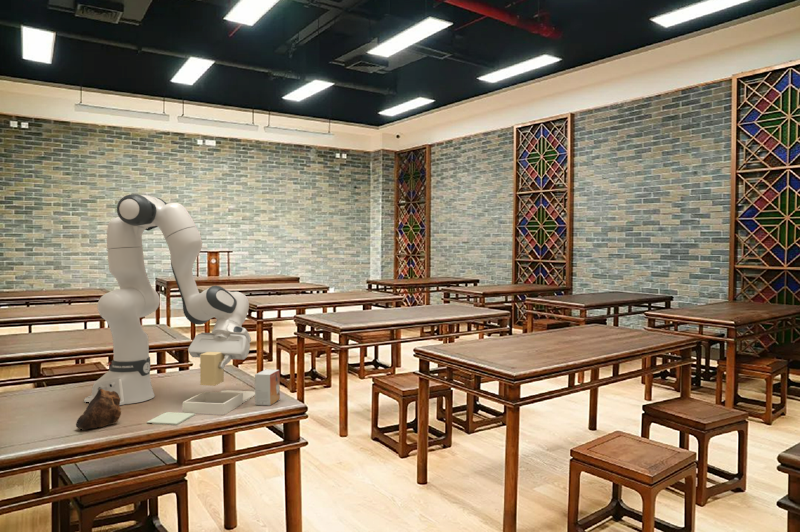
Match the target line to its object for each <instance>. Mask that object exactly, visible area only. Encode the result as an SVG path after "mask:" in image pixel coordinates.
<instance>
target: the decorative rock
mask: <svg viewBox="0 0 800 532" xmlns="http://www.w3.org/2000/svg"><path fill="white" fill-rule="evenodd" d="M119 404H120V397H119V395H118V393H117V392H115V391H112V392H110V391H105V390H103V389H99V390H98V392H97V394H96V396H95V397H94V399H92V400H91V402H90V403H88V405H87V407H86V409H85V410H84V412H83V414H81V415H80V416H79V417H78V418H77V420H76V423H75V425H76V426H75V427H76V428H77V429H78V430H80V429H82V431H86V430H88V429H94V428H97V427H99V428H104V427H106V426H108V425H113V424H117V423H118V422H119V420H120V418H121V415H122V411H121V407H120V405H119Z"/></svg>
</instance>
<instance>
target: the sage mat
mask: <svg viewBox="0 0 800 532" xmlns="http://www.w3.org/2000/svg"><path fill="white" fill-rule="evenodd" d="M194 416H196V414H195V413H183V412H171V411H166V412H164V413H161V414H159V415H158V416H156V417H153V418H151V419H149V420H147V421H146V423H153V424H152V425H163V424H166V425H167V424H169V425H170V426H178V425H180V424H182V423H184V422H185V421H187V420H189V419H190V417H191V418H192V417H194ZM183 421H184V422H183ZM181 422H182V423H181ZM169 425H167V426H169Z"/></svg>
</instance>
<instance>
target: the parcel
mask: <svg viewBox="0 0 800 532" xmlns="http://www.w3.org/2000/svg"><path fill="white" fill-rule="evenodd" d="M199 359H200V362H199V368H200V369H199V370H200V372H199V374H200V381H199V383H200V384H199V385H200V386H212V387H216V386H217V385H219V384H221V383H223V382H224V381H225V378H224V376H225V370H224V369H225V368H224V369H219V368H218V365H219V362H222V361H223V360H224V354H222V352H206V353H203V354H200V358H199Z"/></svg>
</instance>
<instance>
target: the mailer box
mask: <svg viewBox="0 0 800 532" xmlns="http://www.w3.org/2000/svg"><path fill="white" fill-rule="evenodd" d="M253 396H254V397H255V390H254V391H253V390H252V391H251V390H226V389H225V390H223V389H222V390H221V391H204V390H203V391H202V392H200V393H199V394H196V395H194V396H192V397H190V398H188V399H186V400H184V401H182V413H195V415H196V414H197V415H214V416H215V415H217V416H218V415H219V416H225V415H227V414H228V413H229V412H232V411H233V410H234V409H236V408H238V407H240V406H241V405H243V404H244V403H246V402H247V401H249V400H251V399H252V398H254V397H253ZM251 397H252V398H251ZM250 398H251V399H250ZM245 401H246V402H245ZM242 403H243V404H242Z"/></svg>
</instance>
